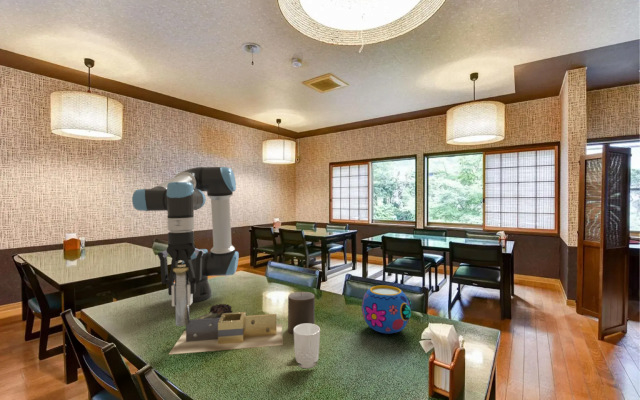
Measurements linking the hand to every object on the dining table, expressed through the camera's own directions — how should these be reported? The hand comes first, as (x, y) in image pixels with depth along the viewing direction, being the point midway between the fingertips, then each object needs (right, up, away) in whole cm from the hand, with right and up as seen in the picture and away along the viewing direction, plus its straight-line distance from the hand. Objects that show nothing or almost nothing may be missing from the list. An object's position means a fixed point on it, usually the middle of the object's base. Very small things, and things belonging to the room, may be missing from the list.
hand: (182, 304), depth 92 cm
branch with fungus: (+1, -16, +23) cm, 28 cm away
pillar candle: (+37, -16, +13) cm, 42 cm away
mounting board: (+13, -16, +8) cm, 22 cm away
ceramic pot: (+68, -15, +15) cm, 71 cm away
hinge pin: (0, -6, 0) cm, 6 cm away
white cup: (+40, -16, -5) cm, 43 cm away
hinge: (+14, -14, +8) cm, 21 cm away
